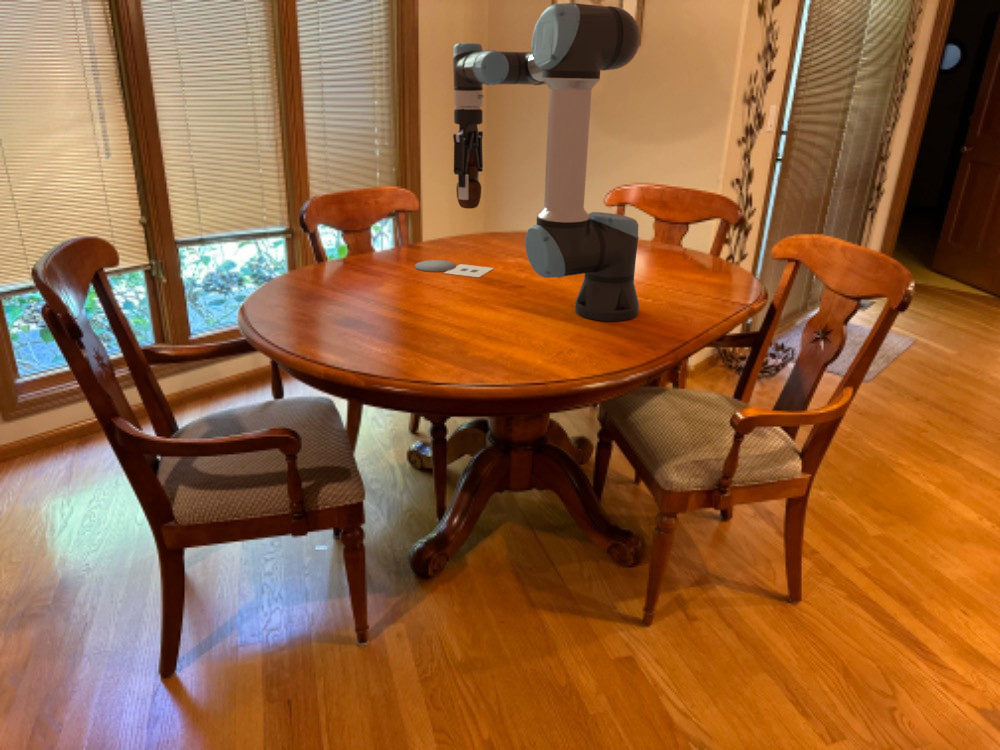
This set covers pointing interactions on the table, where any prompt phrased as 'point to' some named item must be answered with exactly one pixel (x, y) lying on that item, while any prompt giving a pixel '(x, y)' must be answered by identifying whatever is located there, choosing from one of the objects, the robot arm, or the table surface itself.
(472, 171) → the wooden figurine
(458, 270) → the white card
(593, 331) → the table surface
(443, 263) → the coaster
